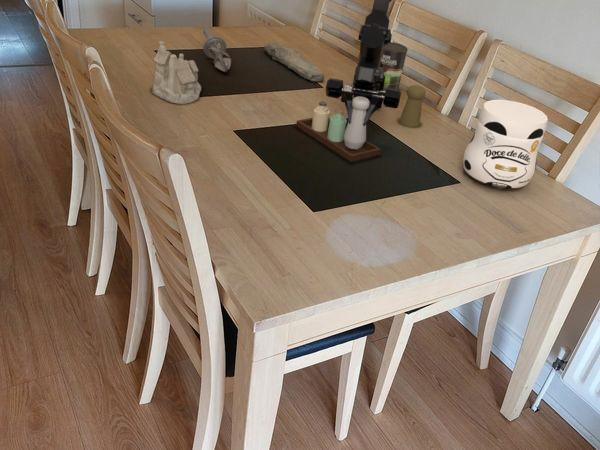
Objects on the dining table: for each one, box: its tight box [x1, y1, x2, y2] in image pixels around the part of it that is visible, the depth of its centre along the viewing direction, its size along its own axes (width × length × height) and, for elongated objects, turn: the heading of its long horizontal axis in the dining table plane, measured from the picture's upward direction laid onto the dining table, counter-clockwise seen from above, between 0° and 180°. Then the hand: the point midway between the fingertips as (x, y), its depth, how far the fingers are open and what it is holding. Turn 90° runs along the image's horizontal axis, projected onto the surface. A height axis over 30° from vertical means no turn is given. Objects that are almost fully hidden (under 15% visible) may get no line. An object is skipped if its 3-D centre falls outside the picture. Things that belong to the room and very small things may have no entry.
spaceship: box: [202, 25, 232, 73], centre depth 202 cm, size 8×35×8 cm
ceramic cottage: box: [151, 40, 202, 105], centre depth 172 cm, size 16×16×15 cm
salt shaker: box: [344, 96, 370, 149], centre depth 150 cm, size 6×6×13 cm
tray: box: [295, 117, 382, 163], centre depth 158 cm, size 10×23×2 cm, turn 37°
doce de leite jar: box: [462, 99, 549, 191], centre depth 146 cm, size 17×17×18 cm
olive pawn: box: [399, 84, 426, 128], centre depth 173 cm, size 6×6×11 cm
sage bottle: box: [327, 108, 348, 142], centre depth 156 cm, size 4×4×8 cm
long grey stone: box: [263, 41, 325, 82], centre depth 207 cm, size 35×5×10 cm
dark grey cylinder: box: [379, 41, 409, 93], centre depth 195 cm, size 10×10×14 cm
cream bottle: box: [311, 101, 331, 132], centre depth 161 cm, size 4×4×7 cm
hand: (356, 124), depth 149 cm, fingers closed on salt shaker, 3 cm apart
